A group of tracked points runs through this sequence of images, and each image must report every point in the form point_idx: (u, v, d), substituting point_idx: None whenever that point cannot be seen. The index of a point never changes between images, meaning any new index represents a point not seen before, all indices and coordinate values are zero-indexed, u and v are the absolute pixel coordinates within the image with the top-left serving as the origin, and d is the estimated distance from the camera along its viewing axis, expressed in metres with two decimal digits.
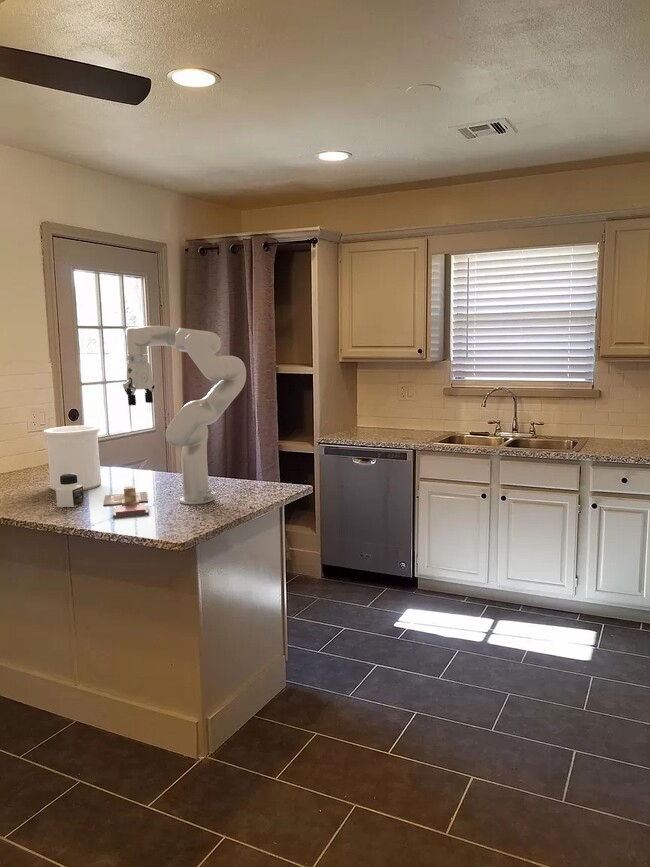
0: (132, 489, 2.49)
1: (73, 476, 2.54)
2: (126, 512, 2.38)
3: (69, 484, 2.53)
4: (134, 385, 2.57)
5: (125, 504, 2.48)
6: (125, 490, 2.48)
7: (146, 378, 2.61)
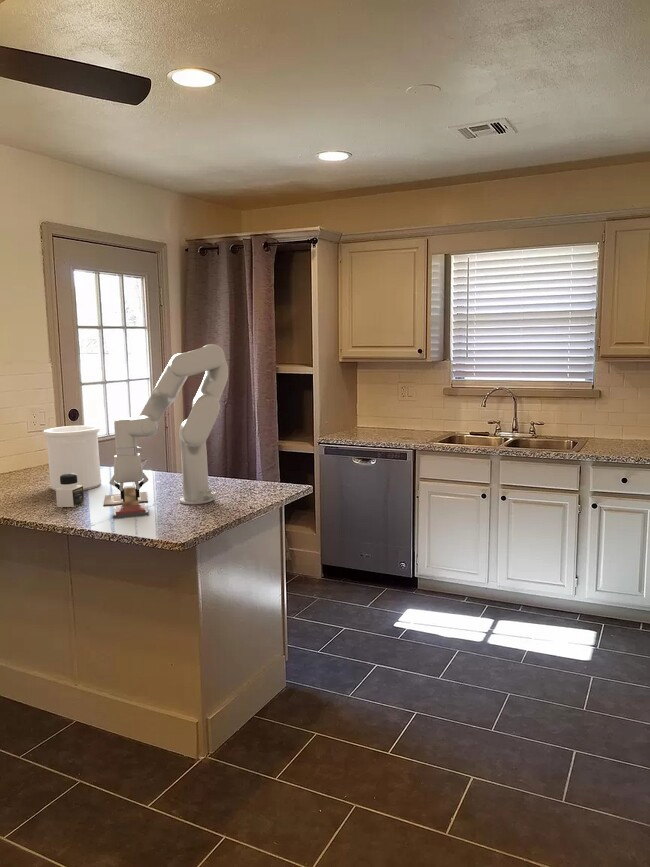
0: (132, 489, 2.49)
1: (73, 476, 2.54)
2: (126, 512, 2.38)
3: (69, 484, 2.53)
4: None
5: (125, 504, 2.48)
6: (125, 490, 2.48)
7: None
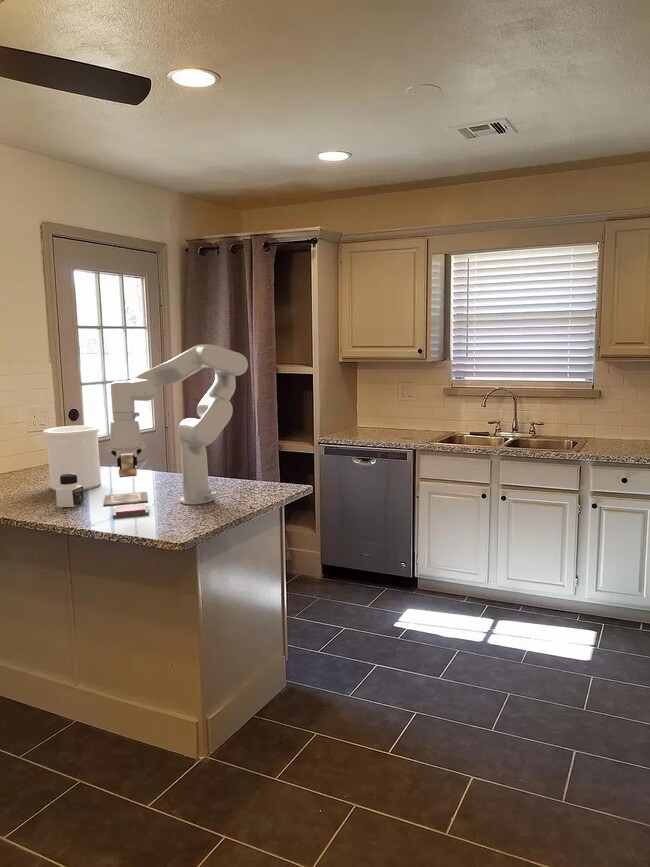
0: (129, 456, 2.37)
1: (73, 476, 2.54)
2: (126, 512, 2.38)
3: (69, 484, 2.53)
4: None
5: (122, 471, 2.36)
6: (122, 457, 2.37)
7: None
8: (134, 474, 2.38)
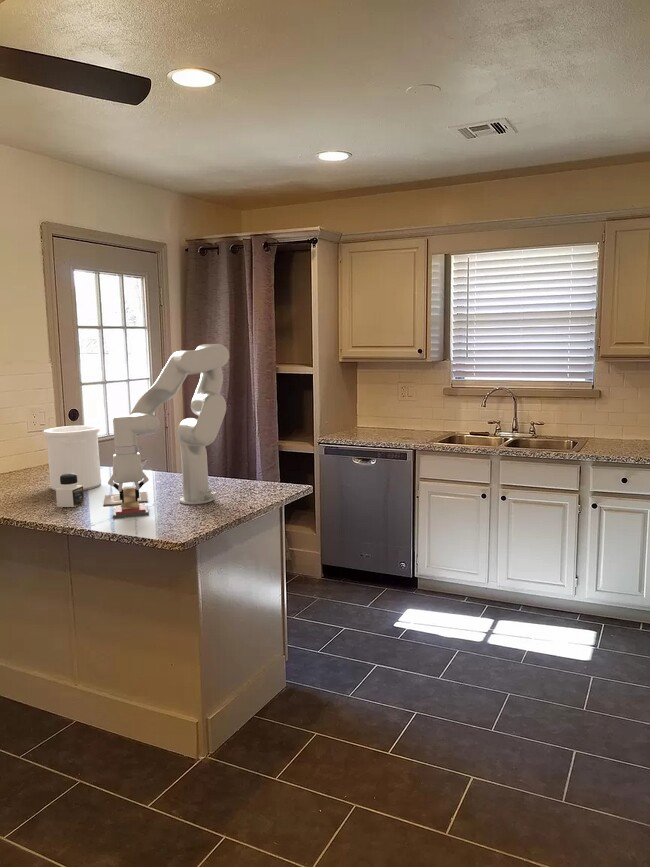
0: (132, 489, 2.39)
1: (73, 476, 2.54)
2: (126, 512, 2.38)
3: (69, 484, 2.53)
4: None
5: (124, 505, 2.38)
6: (124, 490, 2.38)
7: None
8: (136, 507, 2.39)
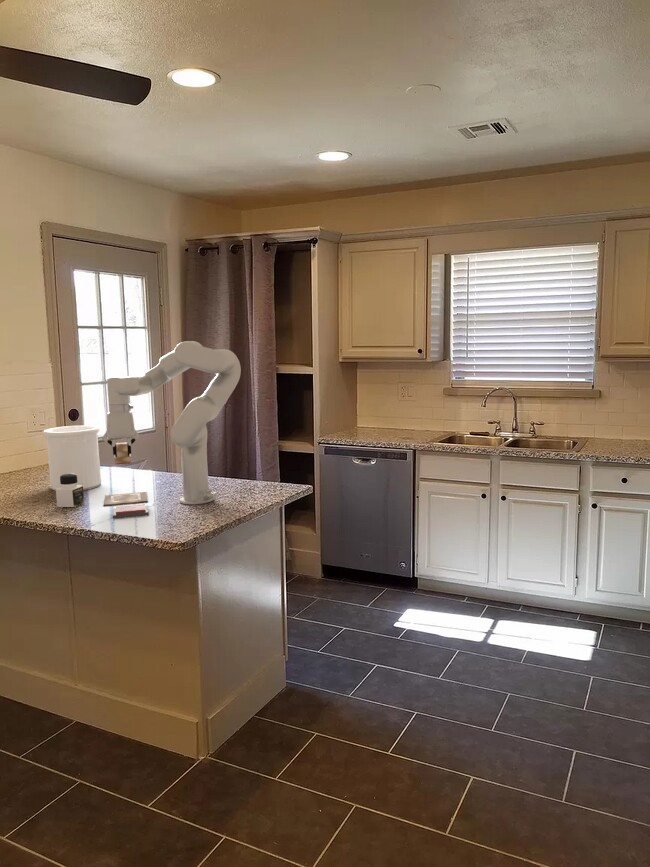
0: (124, 445, 2.58)
1: (73, 476, 2.54)
2: (126, 512, 2.38)
3: (69, 484, 2.53)
4: None
5: (117, 459, 2.57)
6: (117, 446, 2.58)
7: None
8: (128, 462, 2.59)
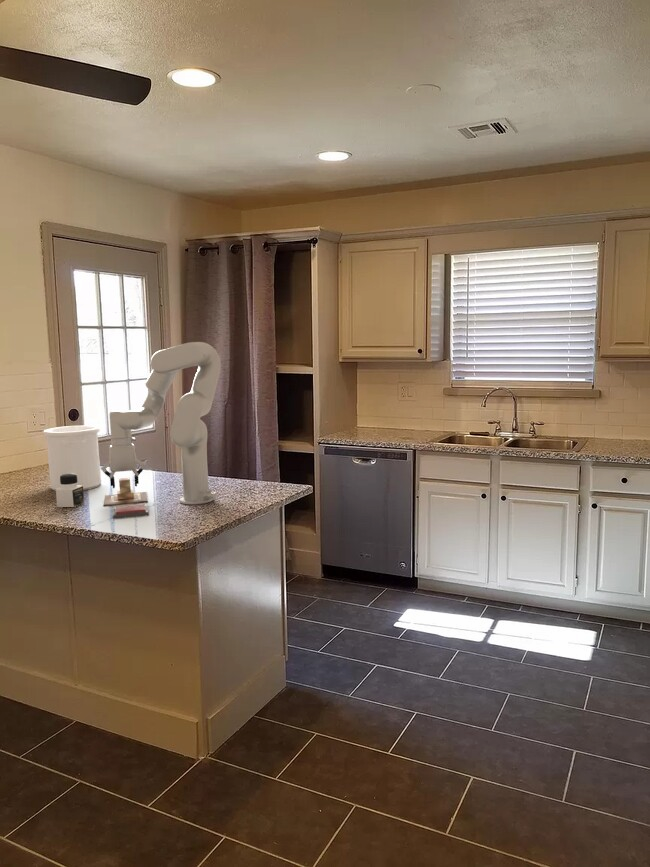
0: (127, 480, 2.61)
1: (73, 476, 2.54)
2: (126, 512, 2.38)
3: (69, 484, 2.53)
4: None
5: (120, 495, 2.60)
6: (120, 481, 2.60)
7: None
8: (131, 497, 2.61)
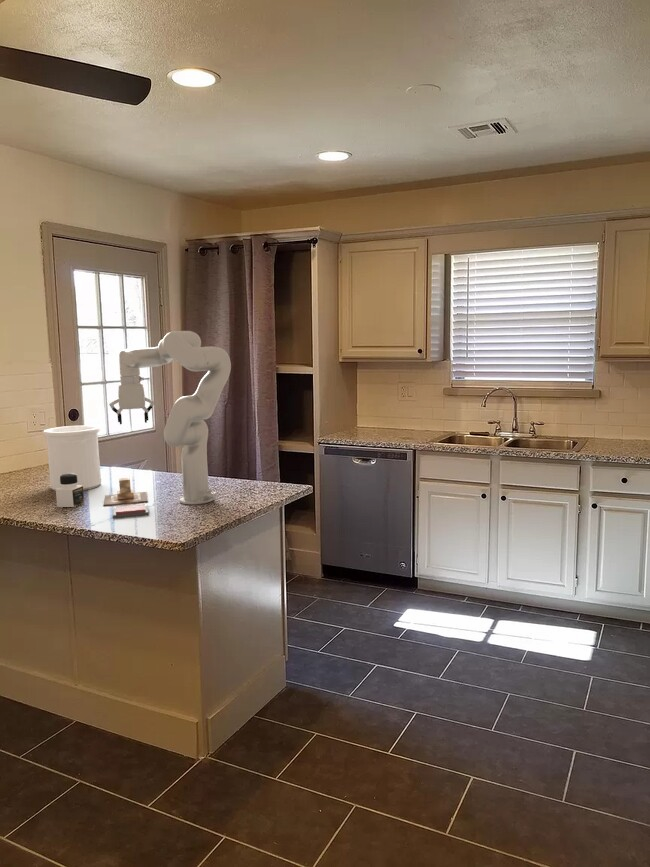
0: (127, 480, 2.61)
1: (73, 476, 2.54)
2: (126, 512, 2.38)
3: (69, 484, 2.53)
4: None
5: (120, 495, 2.60)
6: (120, 481, 2.60)
7: None
8: (131, 497, 2.61)
